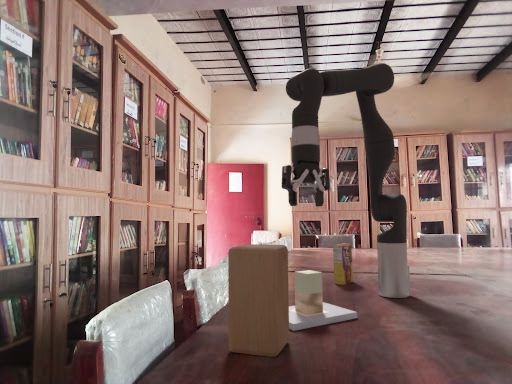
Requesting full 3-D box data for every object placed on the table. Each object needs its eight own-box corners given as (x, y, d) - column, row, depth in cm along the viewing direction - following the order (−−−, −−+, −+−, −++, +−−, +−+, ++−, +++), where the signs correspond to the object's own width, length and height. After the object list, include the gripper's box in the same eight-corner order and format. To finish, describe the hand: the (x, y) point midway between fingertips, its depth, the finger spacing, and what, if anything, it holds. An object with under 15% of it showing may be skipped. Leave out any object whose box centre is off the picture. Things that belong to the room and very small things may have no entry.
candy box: (343, 280, 147) (342, 243, 148) (353, 281, 145) (352, 243, 146) (333, 284, 140) (332, 244, 142) (343, 285, 138) (342, 244, 139)
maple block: (310, 307, 97) (310, 288, 97) (322, 312, 92) (322, 292, 93) (295, 310, 94) (295, 290, 95) (307, 314, 90) (307, 294, 90)
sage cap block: (309, 288, 97) (309, 270, 98) (322, 292, 93) (321, 272, 93) (294, 291, 95) (294, 271, 95) (307, 294, 90) (306, 274, 91)
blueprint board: (320, 306, 104) (320, 301, 104) (357, 318, 92) (356, 311, 92) (261, 316, 94) (261, 310, 94) (293, 330, 82) (293, 323, 82)
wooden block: (290, 341, 75) (289, 244, 76) (277, 359, 66) (275, 248, 67) (245, 337, 78) (244, 243, 80) (226, 353, 69) (226, 247, 70)
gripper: (292, 140, 90) (293, 205, 89) (335, 145, 97) (336, 206, 96) (275, 145, 96) (276, 206, 95) (317, 150, 103) (318, 206, 102)
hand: (306, 206), depth 95 cm, fingers open, 8 cm apart
